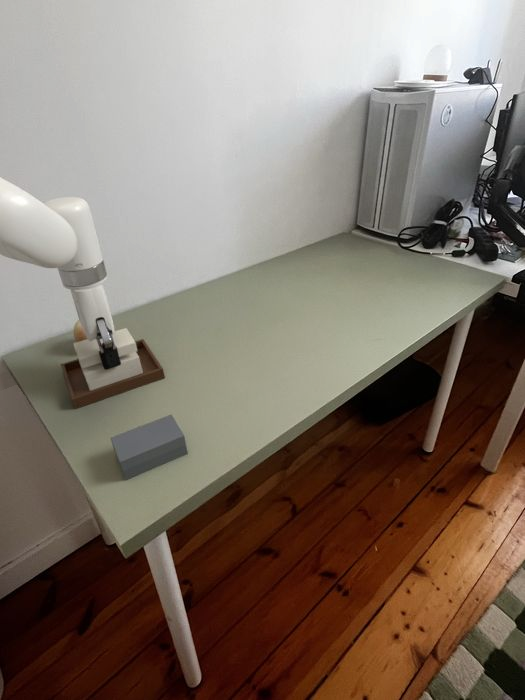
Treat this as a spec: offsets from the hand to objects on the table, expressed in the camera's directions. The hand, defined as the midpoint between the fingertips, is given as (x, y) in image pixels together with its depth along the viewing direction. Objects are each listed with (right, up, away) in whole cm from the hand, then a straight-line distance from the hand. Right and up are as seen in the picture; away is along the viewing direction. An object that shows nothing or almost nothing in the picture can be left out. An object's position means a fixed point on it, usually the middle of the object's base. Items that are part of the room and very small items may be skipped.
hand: (107, 356), depth 85 cm
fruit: (-7, +2, +12) cm, 14 cm away
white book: (0, +1, -1) cm, 1 cm away
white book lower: (0, -3, +2) cm, 4 cm away
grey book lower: (+13, -15, -16) cm, 25 cm away
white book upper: (0, -2, +1) cm, 2 cm away
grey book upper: (+13, -14, -17) cm, 25 cm away
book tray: (0, -4, +3) cm, 5 cm away
